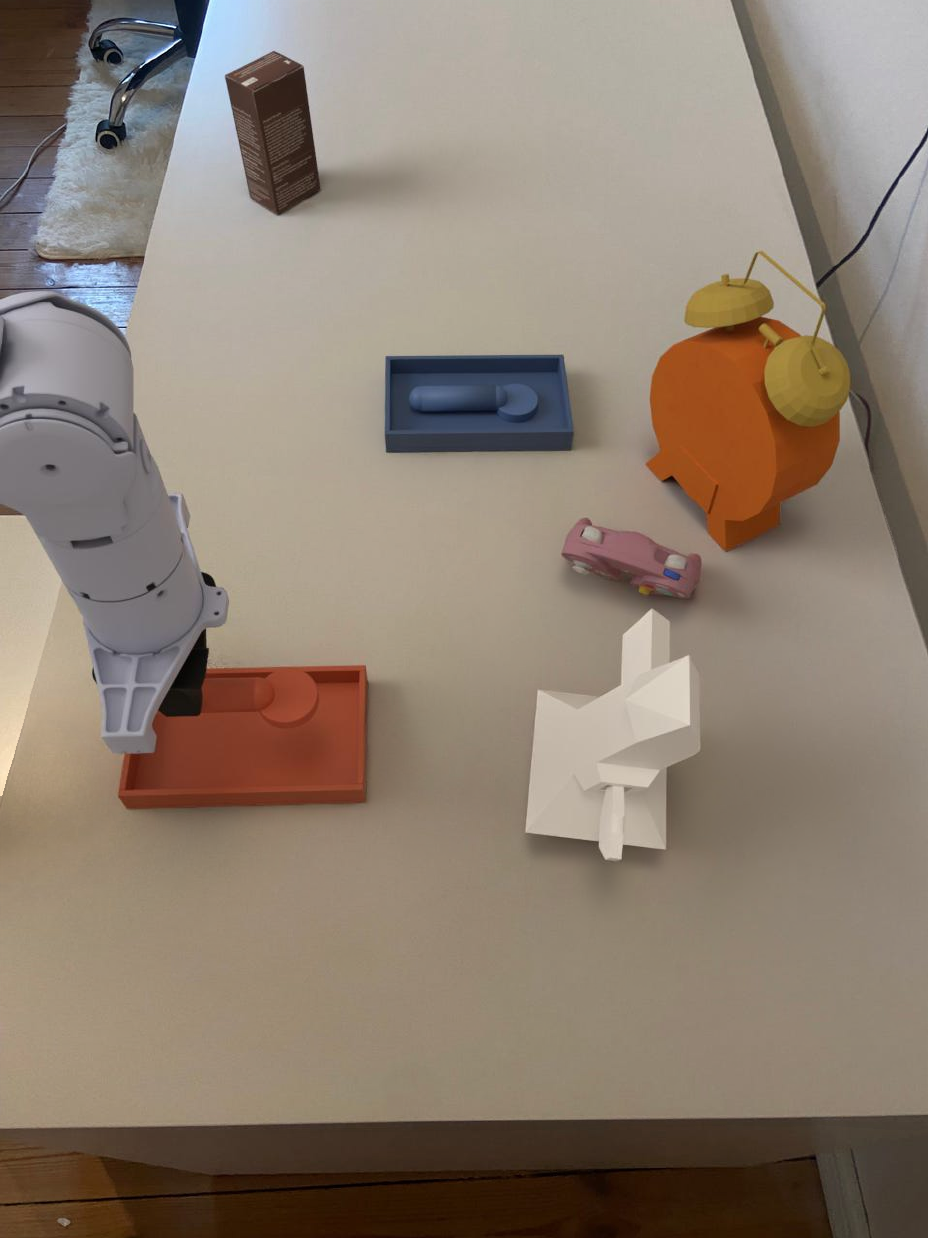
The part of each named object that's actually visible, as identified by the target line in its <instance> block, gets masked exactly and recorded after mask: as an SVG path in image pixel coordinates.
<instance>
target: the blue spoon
mask: <svg viewBox="0 0 928 1238" xmlns="http://www.w3.org/2000/svg"><path fill="white" fill-rule="evenodd" d="M409 402H410V405H411V406H412V407H413V408H414V409H415V410H417V411H495V412H496V413H497V415H498V416H500V417H501V418H502V419H504V420H507V421H510V422H523V421H527V420H529V419H531V418H532V417H533V416H534V415H535V414H536V412H537V408H538V396H537V394H536V393H535V391H534V390H533V389H531V388H530V387H528V386H526V385H522V384H508V385H505V386H503V387H501V386H497V385H481V386H418V387H416V388H414V389H413V390H412V391H411V393H410V395H409Z"/></svg>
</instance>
